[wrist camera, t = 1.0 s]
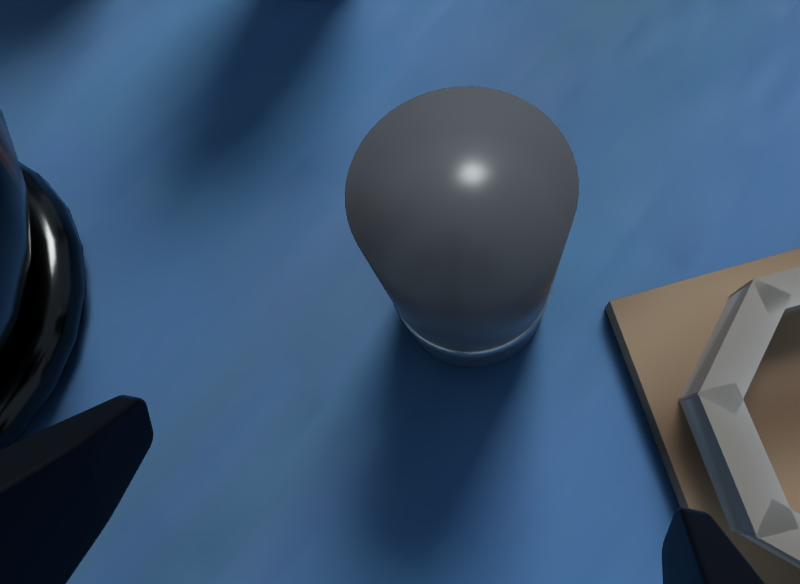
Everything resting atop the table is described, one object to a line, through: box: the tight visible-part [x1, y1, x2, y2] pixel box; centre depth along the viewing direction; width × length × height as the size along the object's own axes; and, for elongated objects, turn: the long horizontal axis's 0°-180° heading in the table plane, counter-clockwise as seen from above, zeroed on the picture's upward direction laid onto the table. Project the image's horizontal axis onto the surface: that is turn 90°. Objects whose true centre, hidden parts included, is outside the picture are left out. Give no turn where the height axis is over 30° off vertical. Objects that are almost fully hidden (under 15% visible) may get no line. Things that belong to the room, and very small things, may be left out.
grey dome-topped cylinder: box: [345, 86, 579, 368], centre depth 19 cm, size 6×6×10 cm
